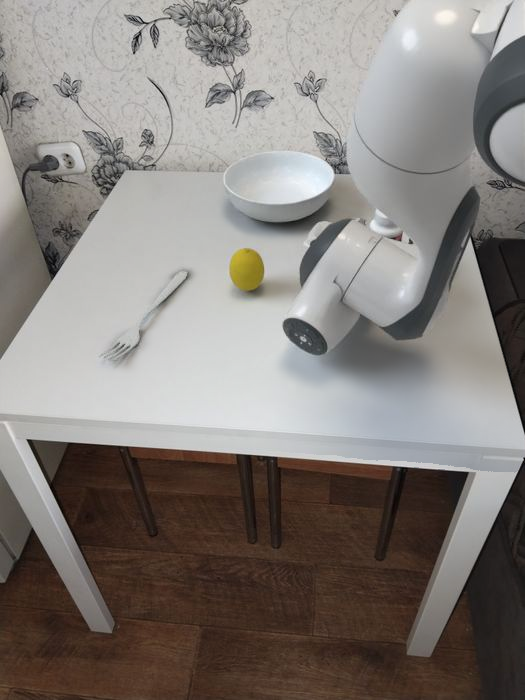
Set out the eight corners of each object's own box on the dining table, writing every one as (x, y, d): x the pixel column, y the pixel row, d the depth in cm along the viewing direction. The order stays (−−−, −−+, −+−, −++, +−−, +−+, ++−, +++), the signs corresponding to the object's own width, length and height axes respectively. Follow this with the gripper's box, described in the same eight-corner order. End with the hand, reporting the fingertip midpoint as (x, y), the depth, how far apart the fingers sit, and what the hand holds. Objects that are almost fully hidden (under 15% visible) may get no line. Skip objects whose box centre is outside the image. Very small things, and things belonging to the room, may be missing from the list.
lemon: (266, 280, 98) (264, 239, 92) (263, 301, 94) (261, 260, 88) (233, 279, 98) (230, 238, 93) (229, 300, 94) (225, 259, 89)
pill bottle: (396, 273, 97) (404, 222, 90) (363, 269, 98) (369, 218, 91) (399, 254, 101) (407, 203, 94) (367, 251, 102) (372, 200, 95)
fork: (193, 273, 100) (192, 265, 99) (116, 370, 84) (114, 361, 83) (177, 269, 101) (175, 261, 100) (97, 365, 85) (95, 356, 84)
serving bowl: (336, 182, 120) (337, 150, 116) (329, 240, 106) (331, 206, 101) (235, 178, 123) (233, 147, 118) (215, 234, 108) (212, 201, 103)
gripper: (424, 278, 81) (455, 229, 90) (293, 239, 89) (334, 197, 97) (417, 313, 86) (448, 263, 94) (293, 272, 94) (332, 230, 102)
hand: (389, 229), depth 96 cm, fingers open, 8 cm apart
